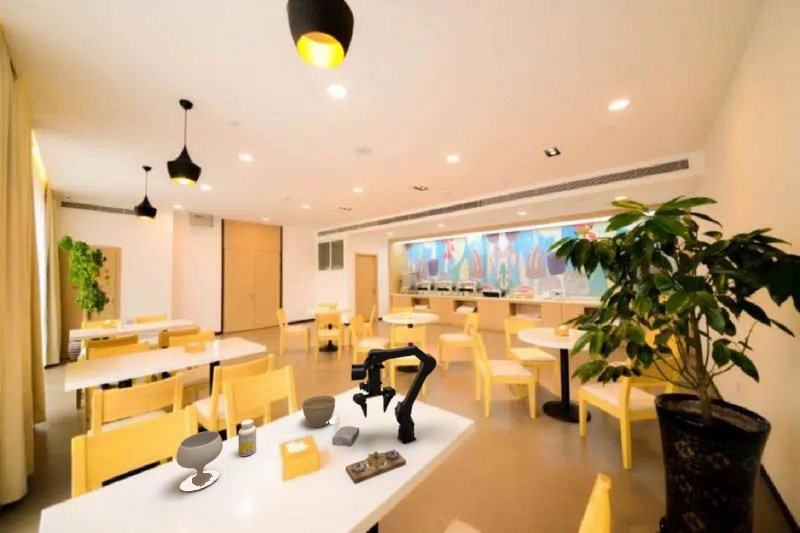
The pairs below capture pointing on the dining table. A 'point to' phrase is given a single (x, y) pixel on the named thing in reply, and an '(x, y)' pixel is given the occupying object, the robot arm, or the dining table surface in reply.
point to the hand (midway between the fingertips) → (375, 414)
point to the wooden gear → (376, 460)
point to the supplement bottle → (247, 438)
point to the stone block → (345, 436)
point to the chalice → (199, 454)
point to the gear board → (363, 472)
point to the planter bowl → (318, 410)
